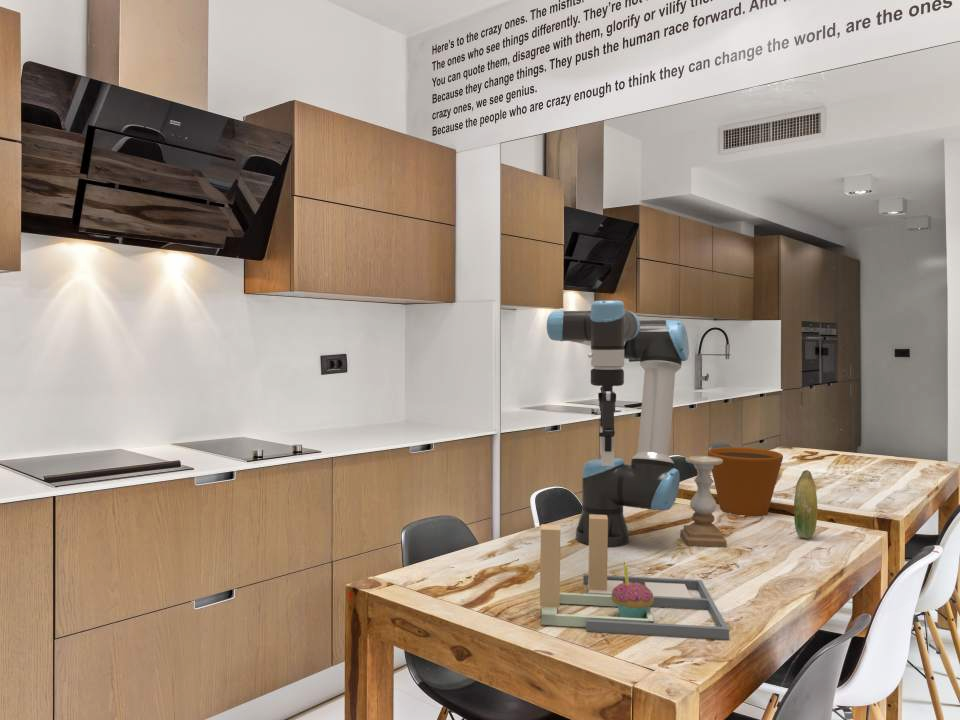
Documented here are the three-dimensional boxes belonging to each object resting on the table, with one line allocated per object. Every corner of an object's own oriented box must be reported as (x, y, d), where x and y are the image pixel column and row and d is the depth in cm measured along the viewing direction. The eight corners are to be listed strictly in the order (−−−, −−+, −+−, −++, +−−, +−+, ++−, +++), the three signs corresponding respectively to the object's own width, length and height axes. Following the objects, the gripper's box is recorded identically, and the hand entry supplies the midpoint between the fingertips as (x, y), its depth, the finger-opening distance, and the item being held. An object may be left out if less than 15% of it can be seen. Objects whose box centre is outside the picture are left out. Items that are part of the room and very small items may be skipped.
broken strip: (589, 599, 154) (590, 522, 153) (587, 584, 164) (588, 511, 163) (692, 605, 151) (693, 526, 151) (684, 589, 161) (685, 514, 161)
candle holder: (717, 536, 206) (719, 455, 205) (727, 547, 195) (728, 462, 194) (679, 535, 207) (680, 454, 206) (686, 546, 196) (688, 461, 195)
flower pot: (792, 511, 238) (793, 452, 237) (766, 524, 220) (767, 461, 220) (723, 500, 254) (724, 445, 253) (694, 511, 236) (695, 452, 236)
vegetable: (821, 540, 202) (823, 471, 202) (805, 542, 200) (806, 473, 199) (805, 535, 208) (806, 468, 207) (788, 537, 206) (790, 469, 205)
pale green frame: (538, 624, 140) (539, 535, 140) (541, 600, 153) (542, 518, 153) (653, 631, 138) (655, 540, 137) (646, 606, 150) (647, 523, 150)
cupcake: (625, 628, 139) (626, 568, 139) (603, 613, 147) (603, 556, 147) (661, 622, 142) (662, 564, 142) (637, 607, 150) (638, 552, 150)
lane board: (586, 631, 138) (586, 621, 138) (583, 582, 165) (583, 574, 165) (728, 639, 134) (729, 629, 134) (701, 588, 162) (701, 580, 162)
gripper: (590, 364, 174) (589, 450, 175) (591, 371, 149) (590, 470, 150) (621, 365, 172) (620, 450, 174) (627, 371, 148) (626, 471, 149)
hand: (606, 460), depth 162 cm, fingers open, 13 cm apart
